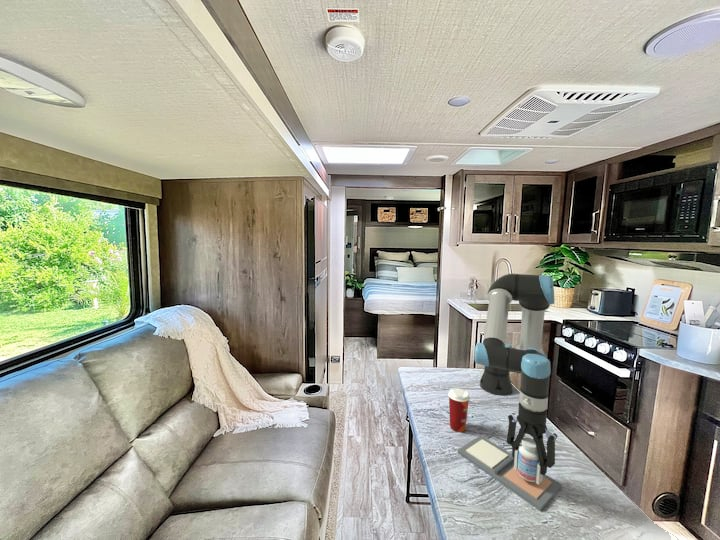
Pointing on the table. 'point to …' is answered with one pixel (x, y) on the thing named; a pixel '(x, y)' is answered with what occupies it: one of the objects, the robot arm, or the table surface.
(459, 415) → the coffee cup
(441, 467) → the table surface
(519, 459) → the pill bottle
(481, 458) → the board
